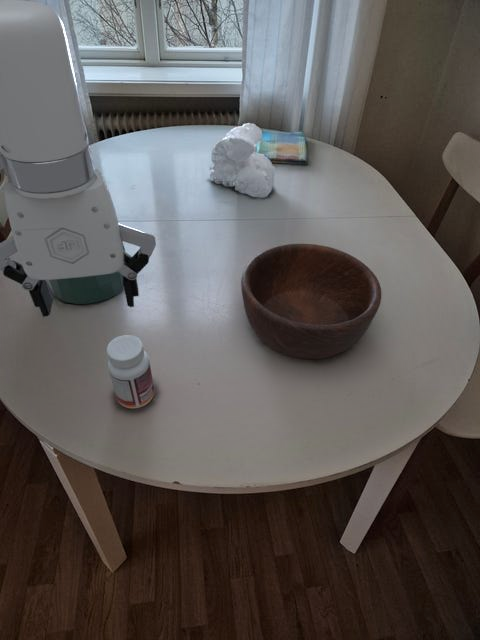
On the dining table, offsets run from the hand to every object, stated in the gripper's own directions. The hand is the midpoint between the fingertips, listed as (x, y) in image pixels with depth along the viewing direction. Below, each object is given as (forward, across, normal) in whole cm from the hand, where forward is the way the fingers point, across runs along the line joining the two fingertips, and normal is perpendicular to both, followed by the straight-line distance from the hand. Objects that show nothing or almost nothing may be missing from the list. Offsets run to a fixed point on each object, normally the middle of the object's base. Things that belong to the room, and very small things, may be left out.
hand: (90, 304), depth 52 cm
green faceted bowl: (+23, -6, +35) cm, 43 cm away
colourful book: (+23, +54, +98) cm, 115 cm away
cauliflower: (+23, +35, +75) cm, 86 cm away
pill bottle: (+23, +2, +3) cm, 23 cm away
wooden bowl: (+23, +35, +15) cm, 44 cm away
